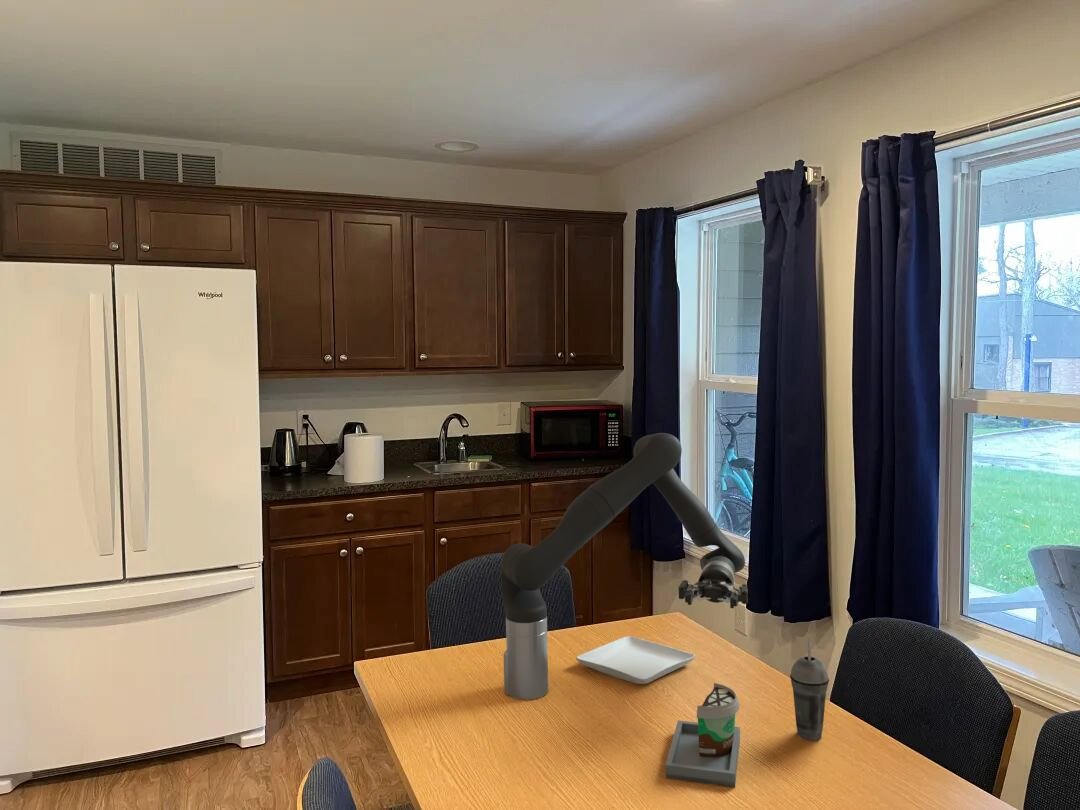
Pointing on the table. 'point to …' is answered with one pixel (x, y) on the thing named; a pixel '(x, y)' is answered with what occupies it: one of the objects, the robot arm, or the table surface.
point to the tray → (700, 758)
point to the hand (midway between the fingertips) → (710, 601)
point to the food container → (717, 722)
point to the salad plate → (635, 659)
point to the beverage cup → (809, 695)
